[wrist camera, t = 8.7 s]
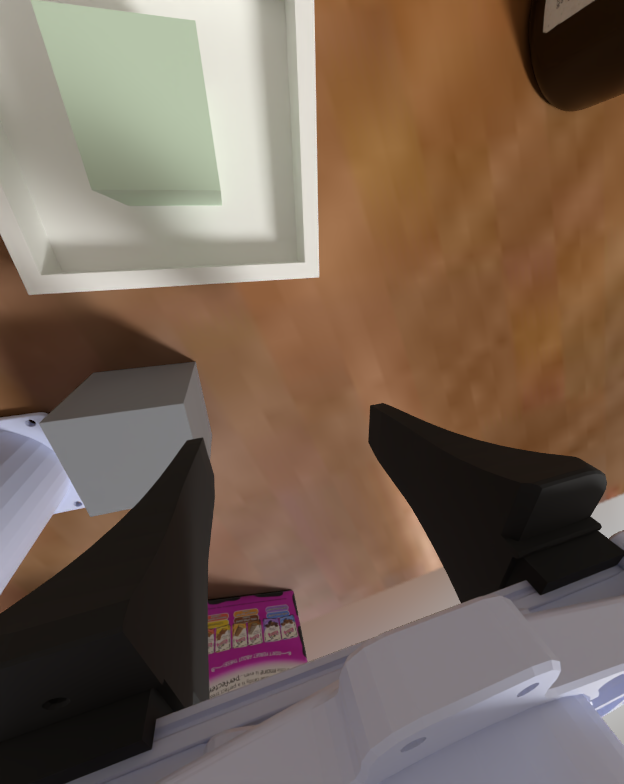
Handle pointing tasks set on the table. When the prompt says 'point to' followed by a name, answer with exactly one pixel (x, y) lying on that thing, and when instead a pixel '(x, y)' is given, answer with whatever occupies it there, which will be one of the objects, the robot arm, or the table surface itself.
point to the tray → (168, 223)
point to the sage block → (134, 103)
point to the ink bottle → (577, 51)
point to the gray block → (126, 431)
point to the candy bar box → (252, 639)
